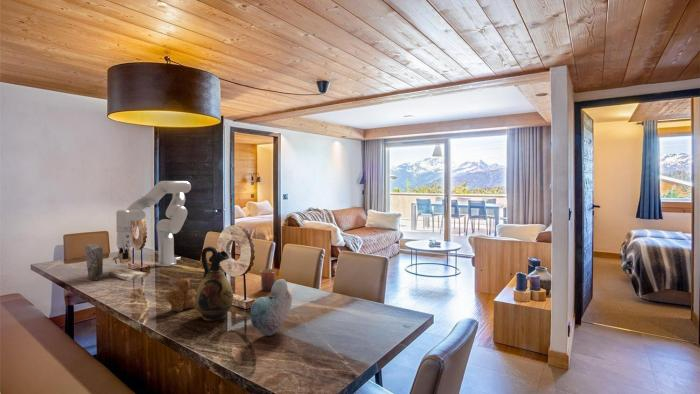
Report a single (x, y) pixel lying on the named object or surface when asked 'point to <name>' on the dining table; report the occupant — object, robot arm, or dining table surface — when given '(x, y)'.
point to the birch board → (127, 274)
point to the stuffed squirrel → (181, 296)
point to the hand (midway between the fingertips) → (123, 258)
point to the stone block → (94, 261)
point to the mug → (267, 279)
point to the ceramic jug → (214, 288)
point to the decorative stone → (271, 308)
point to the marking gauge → (122, 258)
